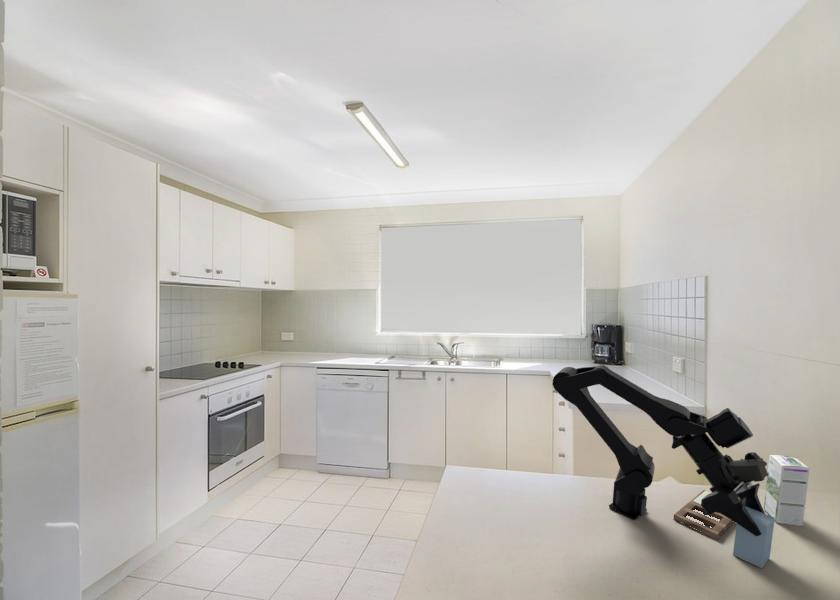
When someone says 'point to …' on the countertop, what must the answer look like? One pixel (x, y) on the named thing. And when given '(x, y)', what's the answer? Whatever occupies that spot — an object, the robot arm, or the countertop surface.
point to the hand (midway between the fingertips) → (763, 530)
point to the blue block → (755, 539)
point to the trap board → (703, 517)
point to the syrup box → (786, 489)
